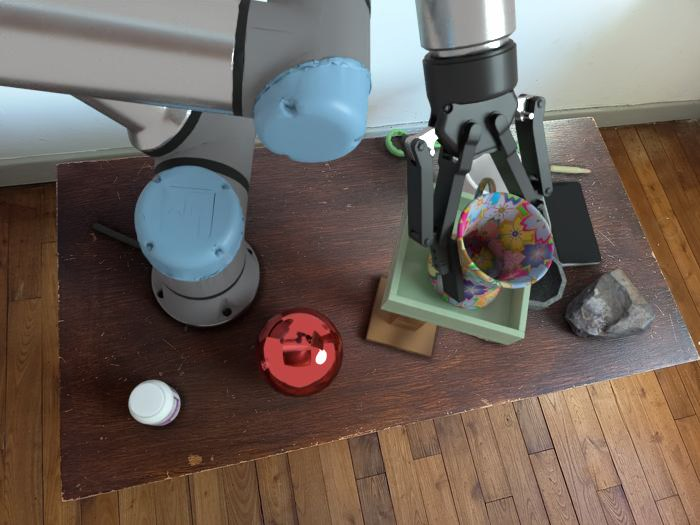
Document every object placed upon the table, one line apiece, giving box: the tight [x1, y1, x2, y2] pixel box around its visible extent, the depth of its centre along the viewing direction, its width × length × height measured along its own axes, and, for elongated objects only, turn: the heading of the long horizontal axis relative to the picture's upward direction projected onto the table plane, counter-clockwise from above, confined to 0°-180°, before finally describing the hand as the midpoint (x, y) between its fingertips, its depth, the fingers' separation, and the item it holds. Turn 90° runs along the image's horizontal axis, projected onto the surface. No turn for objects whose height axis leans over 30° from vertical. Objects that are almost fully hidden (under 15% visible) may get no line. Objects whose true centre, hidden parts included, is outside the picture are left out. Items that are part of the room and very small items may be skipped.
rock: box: [564, 267, 657, 339], centre depth 85 cm, size 14×11×5 cm
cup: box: [462, 152, 522, 195], centre depth 84 cm, size 10×10×13 cm
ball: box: [253, 306, 345, 399], centre depth 72 cm, size 12×12×12 cm
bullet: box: [549, 164, 592, 175], centre depth 95 cm, size 1×1×8 cm
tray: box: [380, 182, 531, 346], centre depth 58 cm, size 14×14×4 cm
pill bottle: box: [128, 379, 181, 427], centre depth 68 cm, size 5×5×10 cm
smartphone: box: [540, 180, 603, 268], centre depth 91 cm, size 8×1×15 cm
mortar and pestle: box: [528, 255, 568, 311], centre depth 81 cm, size 11×9×12 cm
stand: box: [364, 276, 438, 358], centre depth 71 cm, size 10×10×24 cm
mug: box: [428, 177, 554, 309], centre depth 54 cm, size 12×9×11 cm
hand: (488, 280), depth 54 cm, fingers closed on mug, 7 cm apart
